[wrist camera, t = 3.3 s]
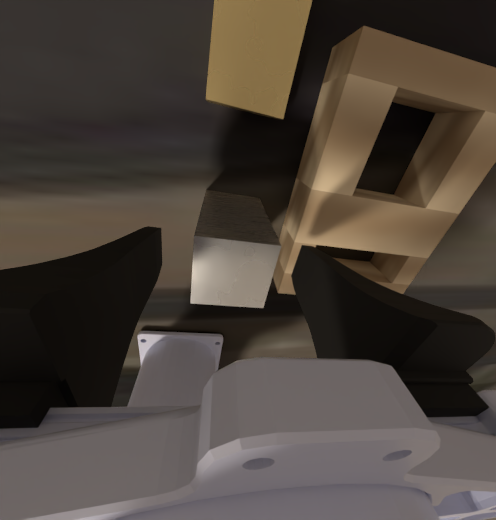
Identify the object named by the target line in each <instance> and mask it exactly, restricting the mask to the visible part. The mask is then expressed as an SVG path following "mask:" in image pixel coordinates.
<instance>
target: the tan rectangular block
mask: <svg viewBox="0 0 496 520" xmlns="http://www.w3.org/2000/svg"><path fill="white" fill-rule="evenodd" d="M311 4H312V0H214V11H213V22H212V34H211V45H210V57H209V68H208V79H207V91H206V100H207V101H208V102H211V103H214V104H218V105H222V106H226V107H230V108H234V109H238V110H242V111H246V112H249V113H253V114H257V115H261V116H265V117H269V118H273V119H277V120H278V119H283V118H284V114H285V110H286V106H287V102H288V98H289V94H290V90H291V86H292V81H293V77H294V73H295V69H296V65H297V61H298V57H299V53H300V49H301V45H302V41H303V37H304V32H305V28H306V24H307V20H308V16H309V12H310V8H311Z"/></svg>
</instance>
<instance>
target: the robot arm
mask: <svg viewBox="0 0 496 520" xmlns="http://www.w3.org/2000/svg"><path fill="white" fill-rule="evenodd" d="M161 266H162V241H161V228H156V227H144V228H142V229H139V230H137V231H135V232H133V233H131V234H128V235H126V236H124V237H122V238H120V239H117V240H115V241H112V242H110V243H107V244H105V245H102V246H100V247H97V248H95V249H92V250H89V251H86V252H82V253H79V254H76V255H72V256H69V257H65V258H60V259H56V260H52V261H47V262H43V263H38V264H33V265H28V266H22V267H16V268H10V269H3V270H0V520H484V519H490V518H496V390H483V391H480V392H477V393H476V392H475V391H474V390H473V389H472V388H471V387H470V385H469V384H471V383H472V382H473V378H472V377H471V376H470V375H469V374H468V373H467V372H466V370H467V369H468V368H469V367H471V366H472V365H473V364H474V363H475V362H477V361H478V360H479V359H480V358H481V357H483V356H484V355H485V354H486V353H487V352H488V351H489V350H490V349H491V347H492V346H493V344H494V341H495V333H494V330H492V329H491V328H490V327H489V326H487V325H486V324H485V323H484V322H482V321H481V320H479V319H477V318H475V317H473V316H470V315H466V314H463V313H459V312H456V311H452V310H449V309H445V308H441V307H438V306H435V305H432V304H429V303H426V302H423V301H420V300H417V299H414V298H411V297H409V296H406V295H403V294H401V293H399V292H396V291H394V290H391V289H389V288H387V287H384V286H382V285H380V284H378V283H376V282H374V281H372V280H370V279H368V278H366V277H364V276H362V275H360V274H359V273H357V272H355V271H353V270H352V269H350V268H348V267H347V266H345V265H343V264H342V263H340V262H339V261H337V260H335V259H334V258H332V257H331V256H329V255H328V254H326V253H324V252H323V251H321V250H319V249H317V248H315V247H313V246H306V245H302V246H301V249H300V252H299V255H298V257H297V260H296V263H295V266H294V269H293V272H292V275H291V277H292V282H293V287H294V291H295V293H296V296H297V299H298V301H299V304H300V306H301V309H302V311H303V314H304V316H305V318H306V321H307V323H308V326H309V329H310V332H311V335H312V339H313V342H314V346H315V350H316V354H317V358H284V357H258V358H251V359H243V360H237V361H235V362H233V363H231V364H229V365H227V366H225V367H223V368H221V369H219V370H218V366H219V361H220V355H221V349H222V344H223V336H222V335H221V334H209V333H185V332H162V331H140V332H139V334H138V345H139V353H140V361H141V368H140V371H139V374H138V377H137V380H136V383H135V386H134V389H133V392H132V395H131V397H130V400H129V403H128V406H127V407H111V405H112V401H113V397H114V394H115V390H116V387H117V384H118V380H119V377H120V374H121V370H122V367H123V364H124V361H125V357H126V354H127V351H128V348H129V345H130V342H131V339H132V336H133V333H134V330H135V328H136V325H137V322H138V320H139V317H140V315H141V313H142V311H143V309H144V307H145V305H146V303H147V301H148V299H149V296H150V294H151V292H152V290H153V288H154V286H155V284H156V282H157V279H158V276H159V273H160V270H161Z"/></svg>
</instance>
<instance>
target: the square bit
mask: <svg viewBox="0 0 496 520" xmlns="http://www.w3.org/2000/svg"><path fill="white" fill-rule="evenodd" d="M280 249H281V244H280V242H279V240H278V237H277V235H276V233H275V231H274V229H273V227H272V225H271V222H270V220H269V218H268V216H267V214H266V212H265V210H264V207H263V205H262V203H261V201H260V199H259V198H257V197H251V196H244V195H238V194H231V193H225V192H218V191H212V190H206V193H205V197H204V200H203V204H202V208H201V212H200V216H199V219H198V223H197V227H196V231H195V235H194V248H193V266H192V284H191V302H190V303H191V304H207V305H222V306H237V307H253V308H264V304H265V301H266V297H267V294H268V291H269V287H270V284H271V280H272V277H273V273H274V270H275V267H276V263H277V260H278V256H279V253H280Z"/></svg>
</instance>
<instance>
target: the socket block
mask: <svg viewBox="0 0 496 520" xmlns="http://www.w3.org/2000/svg"><path fill="white" fill-rule="evenodd" d="M392 102H394V103H398V104H402V105H406V106H410V107H414V108H418V109H422V110H425V111H429V112H433V113H436V114H435V116H434V117H433V119H432V121H431V123H430V125H429V127H428V129H427V131H426V133H425V135H424V137H423V139H422V141H421V143H420V145H419V146H418V148H417V150H416V152H415V154H414V156H413V158H412V160H411V162H410V164H409V166H408V168H407V170H406V172H405V174H404V175H403V177H402V179H401V181H400V183H399V185H398V187H397V189H396V191H395V193H394V195H392V194H386V193H381V192H375V191H369V190H364V189H358V188H356V186H357V183H358V181H359V179H360V176H361V174H362V171H363V169H364V167H365V164H366V162H367V160H368V157H369V155H370V153H371V150H372V148H373V145H374V143H375V141H376V138H377V136H378V134H379V131H380V129H381V126H382V124H383V122H384V119H385V117H386V115H387V112H388V110H389V107H390V105H391V103H392ZM495 162H496V68H495V67H492V66H489V65H486V64H483V63H479V62H476V61H473V60H470V59H467V58H464V57H461V56H458V55H454V54H451V53H448V52H445V51H442V50H439V49H436V48H432V47H429V46H426V45H423V44H420V43H417V42H414V41H411V40H407V39H404V38H401V37H398V36H395V35H392V34H389V33H386V32H382V31H379V30H376V29H373V28H370V27H367V26H363V27H361V28H360V29H358V30H357V31H355V32H354V33H353V34H351V35H350V36H348V37H347V38H345V39H344V40H342V41H341V42H340V43H338V44H337V45H335V46H334V47H332V51H331V55H330V58H329V62H328V65H327V69H326V73H325V76H324V80H323V83H322V87H321V91H320V94H319V98H318V101H317V105H316V109H315V112H314V116H313V119H312V123H311V126H310V130H309V134H308V137H307V141H306V144H305V148H304V152H303V155H302V159H301V162H300V166H299V170H298V173H297V177H296V180H295V184H294V188H293V191H292V195H291V198H290V202H289V206H288V209H287V213H286V216H285V220H284V223H283V227H282V231H281V234H280V238H279V242H280V244H281V249H280V253H279V256H278V260H277V263H276V267H275V270H274V273H273V279H274V282H275V285H276V288H277V291H278V293H282V294H295V295H296V293H295V291H294V287H293V282H292V277H291V275H292V272H293V269H294V266H295V263H296V260H297V257H298V255H299V252H300V249H301V246H302V245H306V246H313V247H315V248H316V245H323V246H331V247H339V248H347V249H356V250H364V251H372V252H375V253H374V255H373V257H372V258H371V260H370V262H367V261H358V260H349V259H340V258H334V259H335V260H337V261H339V262H340V263H342V264H343V265H345V266H347V267H348V268H350V269H352V270H353V271H355V272H357V273H359V274H360V275H362V276H364V277H366V278H368V279H370V280H372V281H374V282H376V283H378V284H380V285H382V286H384V287H387V288H389V289H391V290H394V291H396V292H399V293H401V294H403V293H404V291H405V290H406V289H407V287H408V286H409V284H410V283H411V282H412V280H413V279H414V277H415V276H416V274H417V273H418V272H419V270H420V269H421V267H422V266H423V264H424V263H425V262H426V260H427V259H428V257H429V256H430V255H431V253H432V252H433V250H434V249H435V247H436V246H437V245H438V243H439V242H440V240H441V239H442V237H443V236H444V235H445V233H446V232H447V230H448V229H449V228H450V226H451V225H452V223H453V222H454V220H455V219H456V218H457V216H458V215H459V213H460V212H461V210H462V209H463V208H464V206H465V205H466V203H467V202H468V200H469V199H470V198H471V196H472V195H473V193H474V192H475V191H476V189H477V188H478V186H479V185H480V183H481V182H482V181H483V179H484V178H485V176H486V175H487V173H488V172H489V171H490V169H491V168H492V166H493V165H494V164H495Z"/></svg>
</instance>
